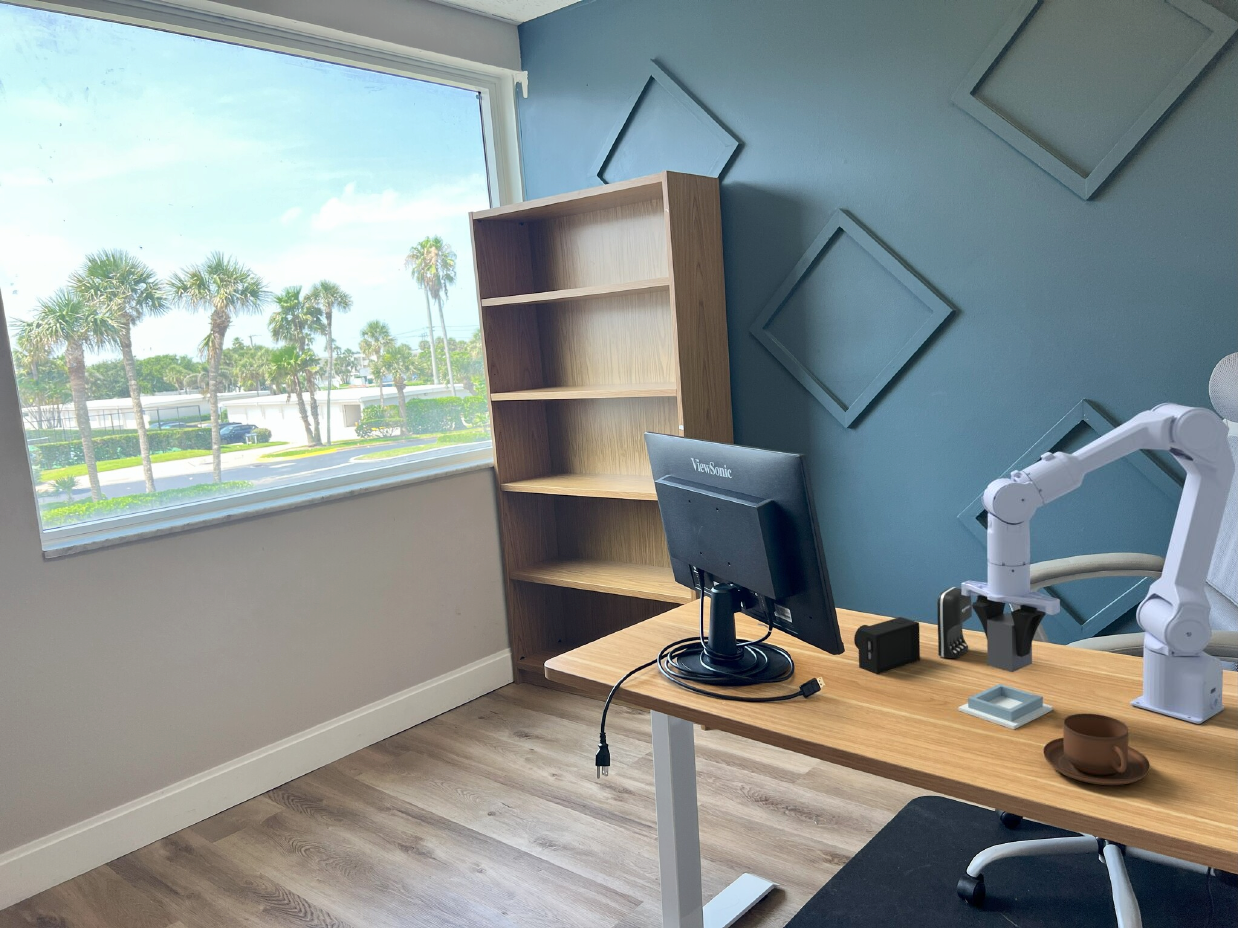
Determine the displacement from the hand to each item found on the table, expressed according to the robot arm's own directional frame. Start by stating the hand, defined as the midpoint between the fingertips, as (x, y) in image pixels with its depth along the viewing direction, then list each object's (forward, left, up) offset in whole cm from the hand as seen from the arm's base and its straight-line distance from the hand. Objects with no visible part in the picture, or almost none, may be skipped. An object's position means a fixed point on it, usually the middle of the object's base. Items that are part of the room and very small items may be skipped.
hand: (1008, 650), depth 135 cm
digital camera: (+24, -2, -9) cm, 26 cm away
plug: (0, 0, -2) cm, 2 cm away
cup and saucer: (-18, +9, -9) cm, 22 cm away
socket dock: (0, +1, -9) cm, 9 cm away
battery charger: (+19, -14, -9) cm, 25 cm away
